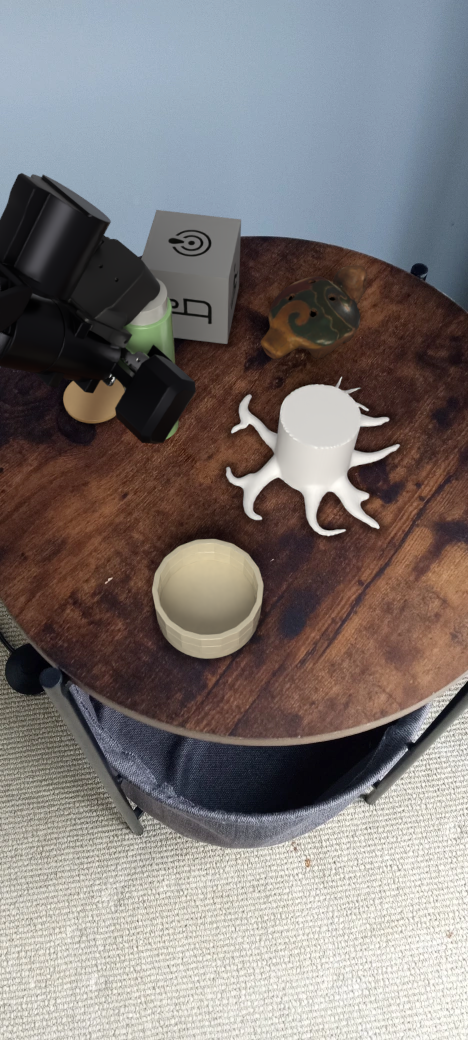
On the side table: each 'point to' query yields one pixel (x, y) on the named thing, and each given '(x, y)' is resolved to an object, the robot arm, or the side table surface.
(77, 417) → the coaster
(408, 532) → the side table surface
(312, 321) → the ocarina
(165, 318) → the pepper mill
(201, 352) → the side table surface
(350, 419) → the tree stump
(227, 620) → the bowl
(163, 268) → the icon cube
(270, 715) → the side table surface
